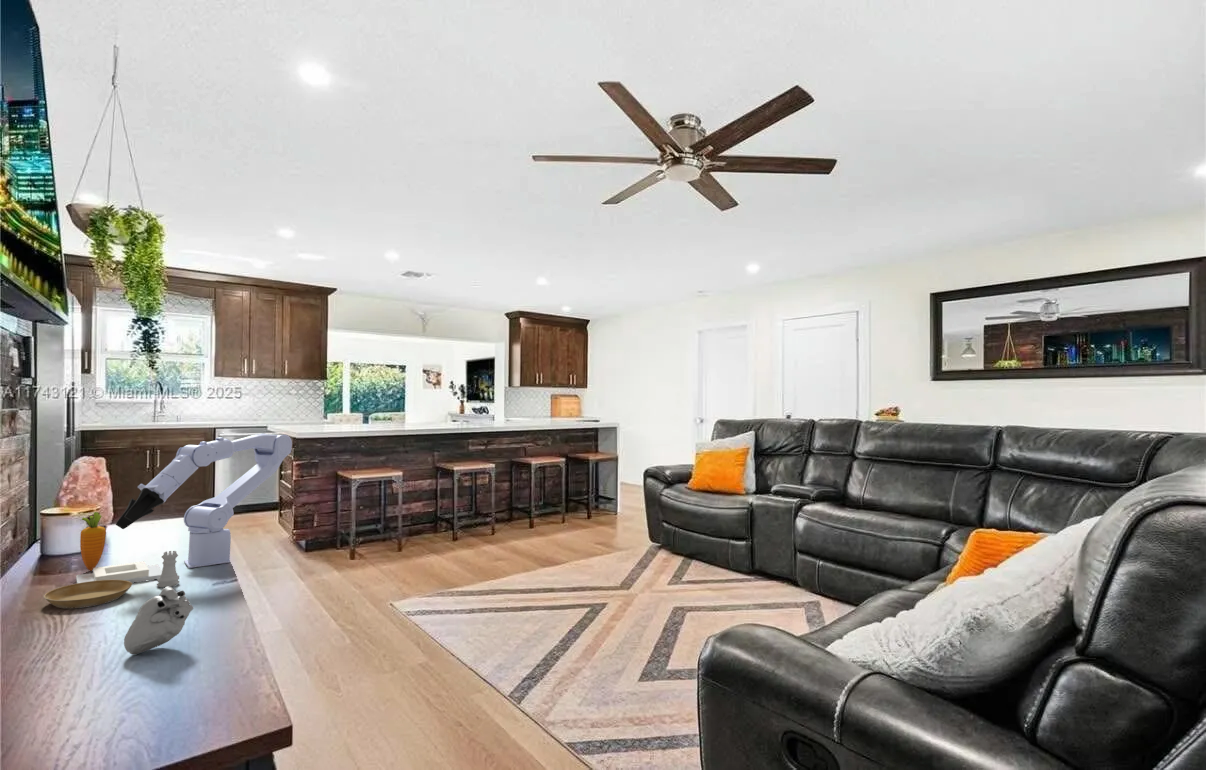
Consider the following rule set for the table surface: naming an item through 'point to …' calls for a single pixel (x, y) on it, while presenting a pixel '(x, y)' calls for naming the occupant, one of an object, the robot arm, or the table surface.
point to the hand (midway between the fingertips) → (124, 523)
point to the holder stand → (123, 573)
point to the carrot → (92, 542)
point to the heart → (158, 621)
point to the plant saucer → (87, 593)
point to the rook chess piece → (168, 571)
